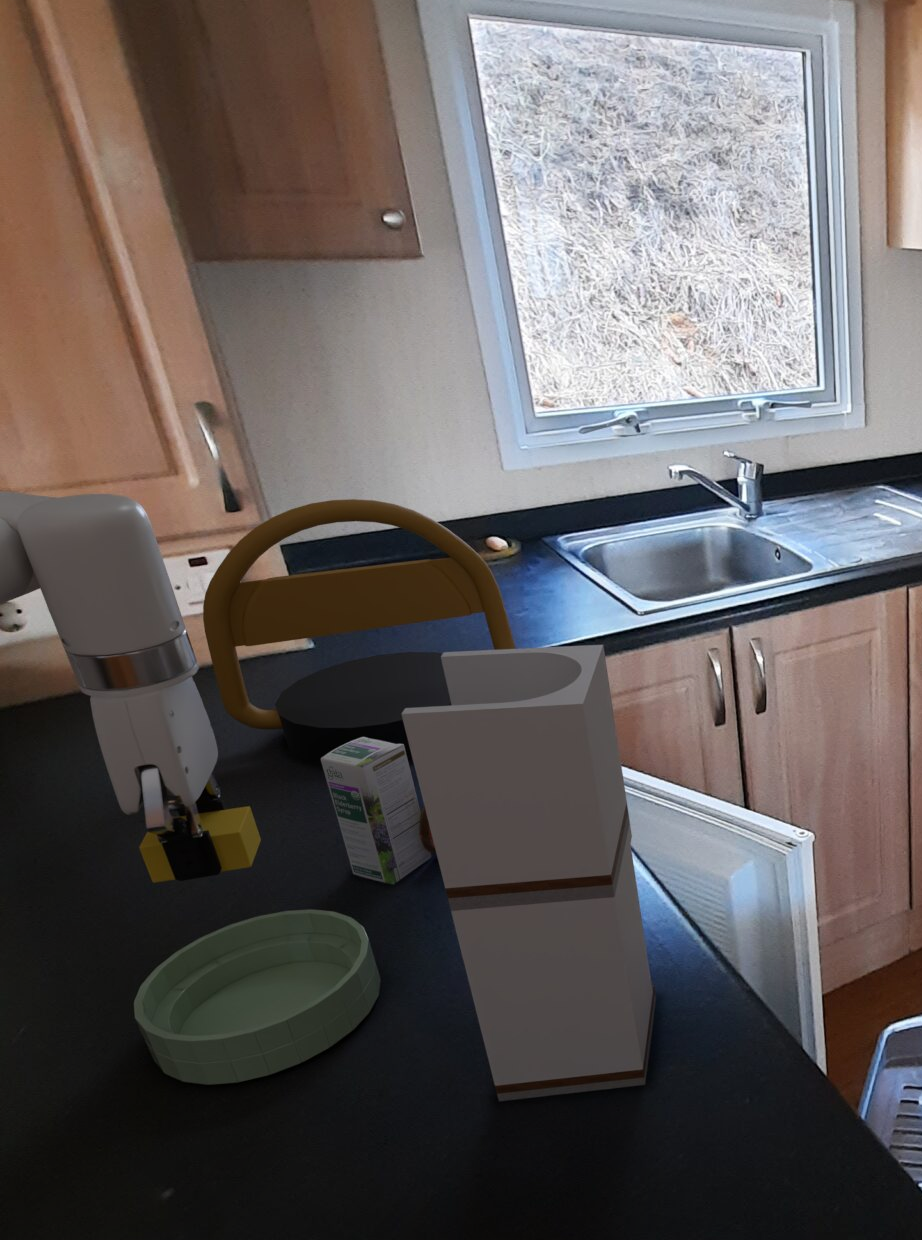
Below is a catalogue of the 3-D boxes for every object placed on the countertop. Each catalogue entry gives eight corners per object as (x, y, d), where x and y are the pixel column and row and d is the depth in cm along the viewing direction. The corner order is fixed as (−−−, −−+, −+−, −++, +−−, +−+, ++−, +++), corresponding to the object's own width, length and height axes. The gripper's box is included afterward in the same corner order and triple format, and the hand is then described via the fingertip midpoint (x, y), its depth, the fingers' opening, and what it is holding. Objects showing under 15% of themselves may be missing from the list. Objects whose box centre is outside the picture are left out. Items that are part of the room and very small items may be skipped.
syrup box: (351, 877, 112) (315, 758, 106) (394, 848, 117) (362, 733, 111) (394, 887, 111) (360, 767, 104) (435, 858, 116) (405, 741, 109)
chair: (539, 739, 141) (495, 507, 127) (234, 797, 126) (145, 543, 112) (515, 673, 161) (474, 465, 146) (248, 716, 146) (174, 491, 132)
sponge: (152, 883, 86) (138, 847, 84) (166, 854, 89) (153, 819, 88) (251, 867, 88) (239, 831, 86) (261, 839, 92) (250, 805, 90)
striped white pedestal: (656, 1001, 96) (603, 644, 80) (645, 1088, 86) (583, 703, 70) (525, 1014, 94) (443, 652, 78) (499, 1104, 84) (401, 714, 68)
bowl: (131, 1116, 83) (107, 1064, 80) (181, 981, 97) (162, 934, 94) (374, 1058, 89) (358, 1008, 86) (388, 939, 103) (375, 893, 100)
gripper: (109, 628, 86) (179, 818, 94) (34, 712, 72) (124, 926, 80) (216, 618, 89) (275, 803, 97) (163, 697, 75) (238, 906, 83)
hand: (206, 857), depth 89 cm, fingers closed on sponge, 4 cm apart
